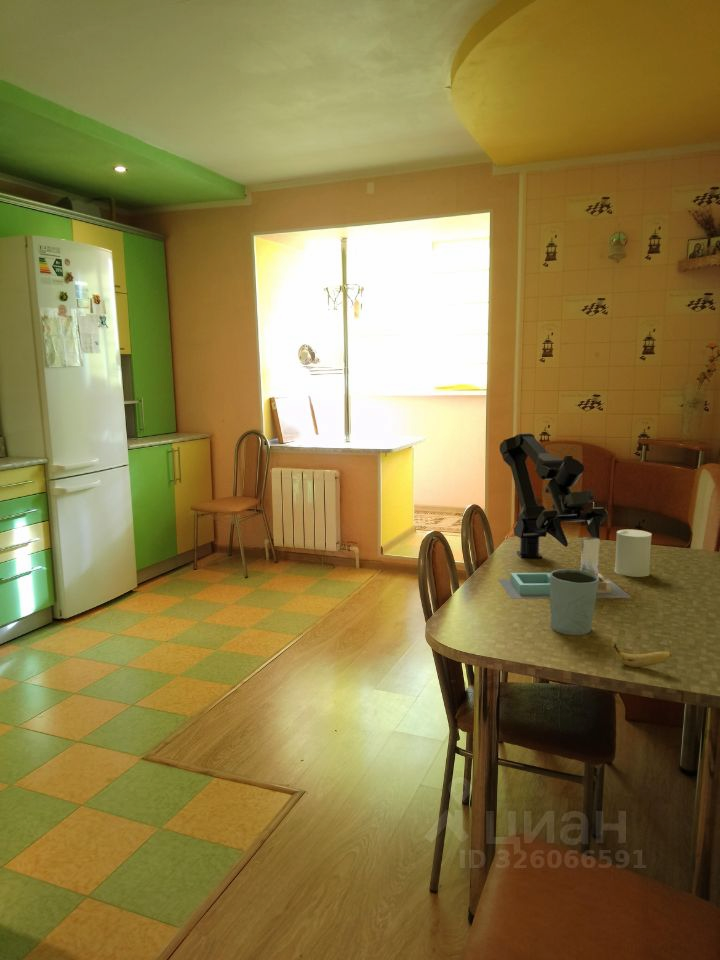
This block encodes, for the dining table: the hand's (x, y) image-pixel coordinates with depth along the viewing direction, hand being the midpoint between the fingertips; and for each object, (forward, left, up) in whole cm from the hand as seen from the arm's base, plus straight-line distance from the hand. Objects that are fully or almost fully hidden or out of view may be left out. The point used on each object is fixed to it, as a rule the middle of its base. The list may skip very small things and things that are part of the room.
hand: (582, 544), depth 175 cm
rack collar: (+4, -13, -10) cm, 17 cm away
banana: (+51, -6, -11) cm, 53 cm away
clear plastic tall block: (+4, +1, -10) cm, 11 cm away
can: (-10, +18, -11) cm, 23 cm away
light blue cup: (+31, -12, -11) cm, 35 cm away
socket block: (+4, +1, -10) cm, 11 cm away
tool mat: (+4, -6, -11) cm, 13 cm away
